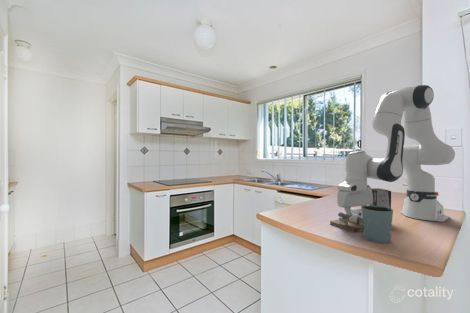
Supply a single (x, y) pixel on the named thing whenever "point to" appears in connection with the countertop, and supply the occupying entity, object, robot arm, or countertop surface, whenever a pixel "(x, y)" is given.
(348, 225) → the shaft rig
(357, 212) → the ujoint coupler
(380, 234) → the teal grey open container
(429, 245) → the countertop surface
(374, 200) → the coffee box
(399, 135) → the robot arm
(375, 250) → the countertop surface
